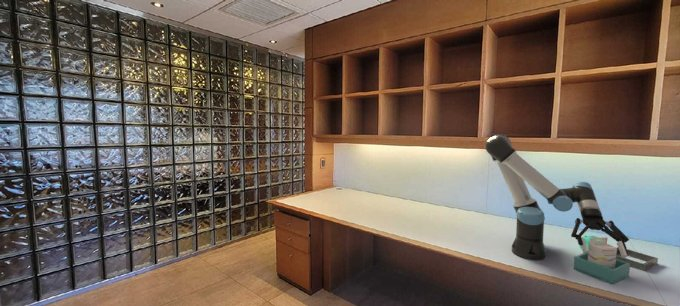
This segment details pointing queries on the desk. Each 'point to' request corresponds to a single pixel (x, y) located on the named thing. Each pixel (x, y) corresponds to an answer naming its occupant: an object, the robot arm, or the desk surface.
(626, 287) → the desk surface
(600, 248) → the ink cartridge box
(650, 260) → the socket collar
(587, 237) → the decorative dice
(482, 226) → the desk surface
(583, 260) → the teal bin
